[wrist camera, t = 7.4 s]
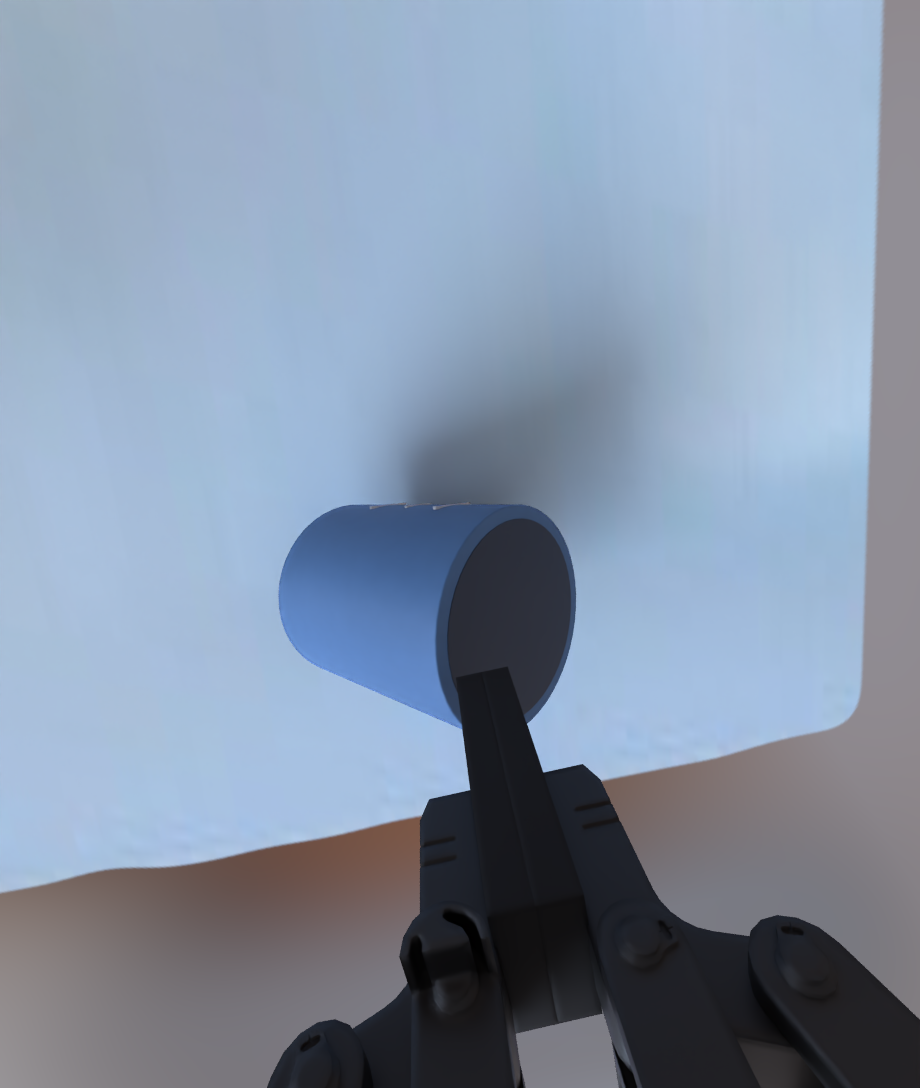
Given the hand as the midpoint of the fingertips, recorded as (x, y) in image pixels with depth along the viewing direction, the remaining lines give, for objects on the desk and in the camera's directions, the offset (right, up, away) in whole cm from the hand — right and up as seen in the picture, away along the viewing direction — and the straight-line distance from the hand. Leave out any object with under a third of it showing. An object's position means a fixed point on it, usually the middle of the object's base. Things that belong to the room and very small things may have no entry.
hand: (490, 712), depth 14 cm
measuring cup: (0, +3, +10) cm, 10 cm away
